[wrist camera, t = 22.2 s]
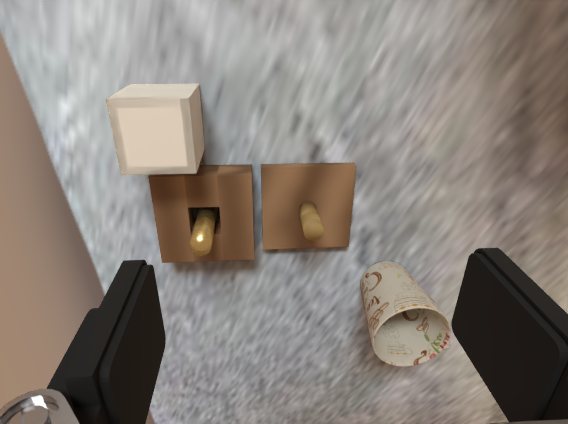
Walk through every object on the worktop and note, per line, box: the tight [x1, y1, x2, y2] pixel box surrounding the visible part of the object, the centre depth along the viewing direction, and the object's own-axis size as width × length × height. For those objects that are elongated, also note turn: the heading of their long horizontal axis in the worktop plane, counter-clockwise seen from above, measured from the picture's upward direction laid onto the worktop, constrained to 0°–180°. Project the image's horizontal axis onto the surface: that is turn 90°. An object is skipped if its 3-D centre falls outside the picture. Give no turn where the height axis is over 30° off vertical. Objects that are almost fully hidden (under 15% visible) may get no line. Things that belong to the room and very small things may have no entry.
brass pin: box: [189, 207, 218, 256], centre depth 40 cm, size 2×2×8 cm
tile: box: [261, 163, 356, 249], centre depth 42 cm, size 10×10×6 cm
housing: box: [106, 84, 205, 175], centre depth 36 cm, size 6×6×7 cm
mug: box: [360, 261, 451, 366], centre depth 46 cm, size 8×13×10 cm, turn 58°
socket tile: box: [149, 165, 254, 263], centre depth 42 cm, size 10×10×3 cm
